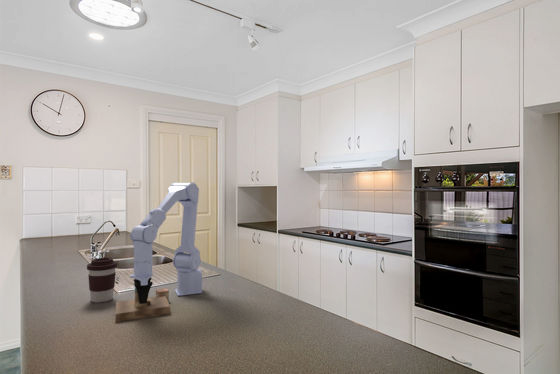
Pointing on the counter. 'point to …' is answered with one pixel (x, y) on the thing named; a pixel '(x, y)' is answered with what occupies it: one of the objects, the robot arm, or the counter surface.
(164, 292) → the tan cubic piece
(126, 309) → the hole board
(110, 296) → the coffee cup
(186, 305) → the counter surface
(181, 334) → the counter surface
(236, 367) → the counter surface
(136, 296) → the square peg
